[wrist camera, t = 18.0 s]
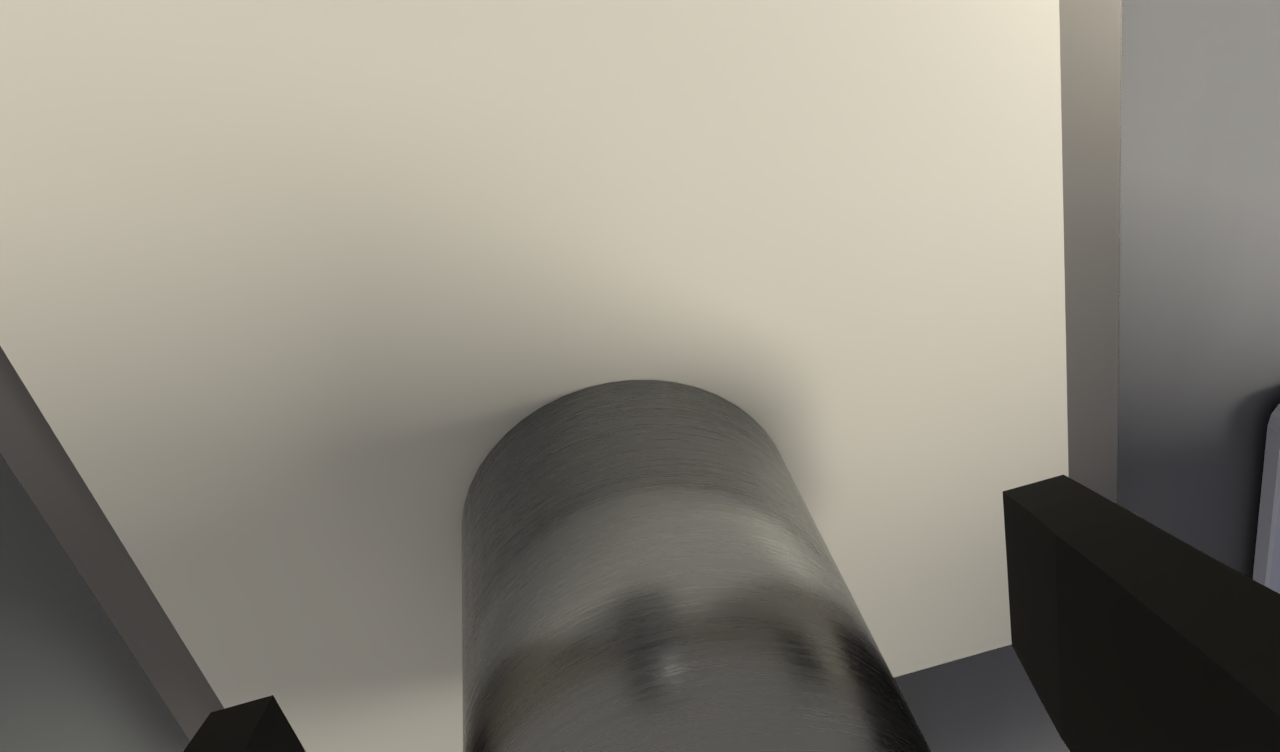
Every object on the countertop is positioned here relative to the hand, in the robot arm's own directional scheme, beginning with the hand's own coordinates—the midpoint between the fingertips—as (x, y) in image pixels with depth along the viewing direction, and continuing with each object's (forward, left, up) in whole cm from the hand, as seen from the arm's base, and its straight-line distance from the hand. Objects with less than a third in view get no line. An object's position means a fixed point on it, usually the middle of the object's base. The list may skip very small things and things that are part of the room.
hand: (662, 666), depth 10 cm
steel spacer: (0, 0, -3) cm, 3 cm away
